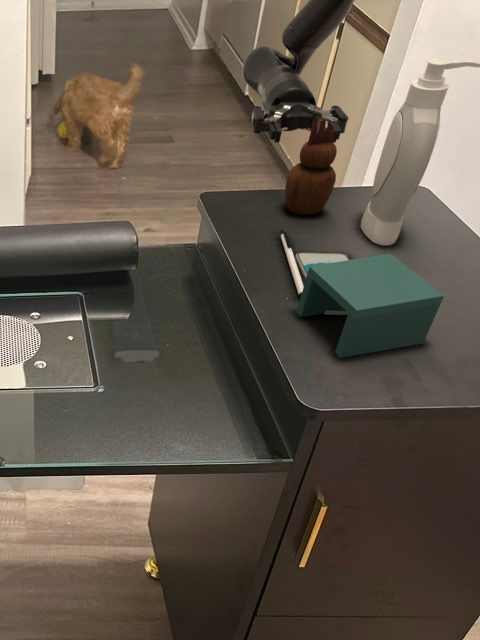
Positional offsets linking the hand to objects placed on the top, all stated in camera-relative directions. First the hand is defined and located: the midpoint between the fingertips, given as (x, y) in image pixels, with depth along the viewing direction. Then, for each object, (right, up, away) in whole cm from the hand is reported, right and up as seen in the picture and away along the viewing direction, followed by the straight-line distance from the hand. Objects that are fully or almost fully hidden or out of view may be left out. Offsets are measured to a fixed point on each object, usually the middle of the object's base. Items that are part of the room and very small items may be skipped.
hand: (306, 136), depth 115 cm
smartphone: (-4, -26, -15) cm, 30 cm away
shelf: (-5, -32, -24) cm, 40 cm away
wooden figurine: (-1, -12, 0) cm, 12 cm away
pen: (-8, -23, -12) cm, 27 cm away
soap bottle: (+9, -16, -6) cm, 20 cm away
